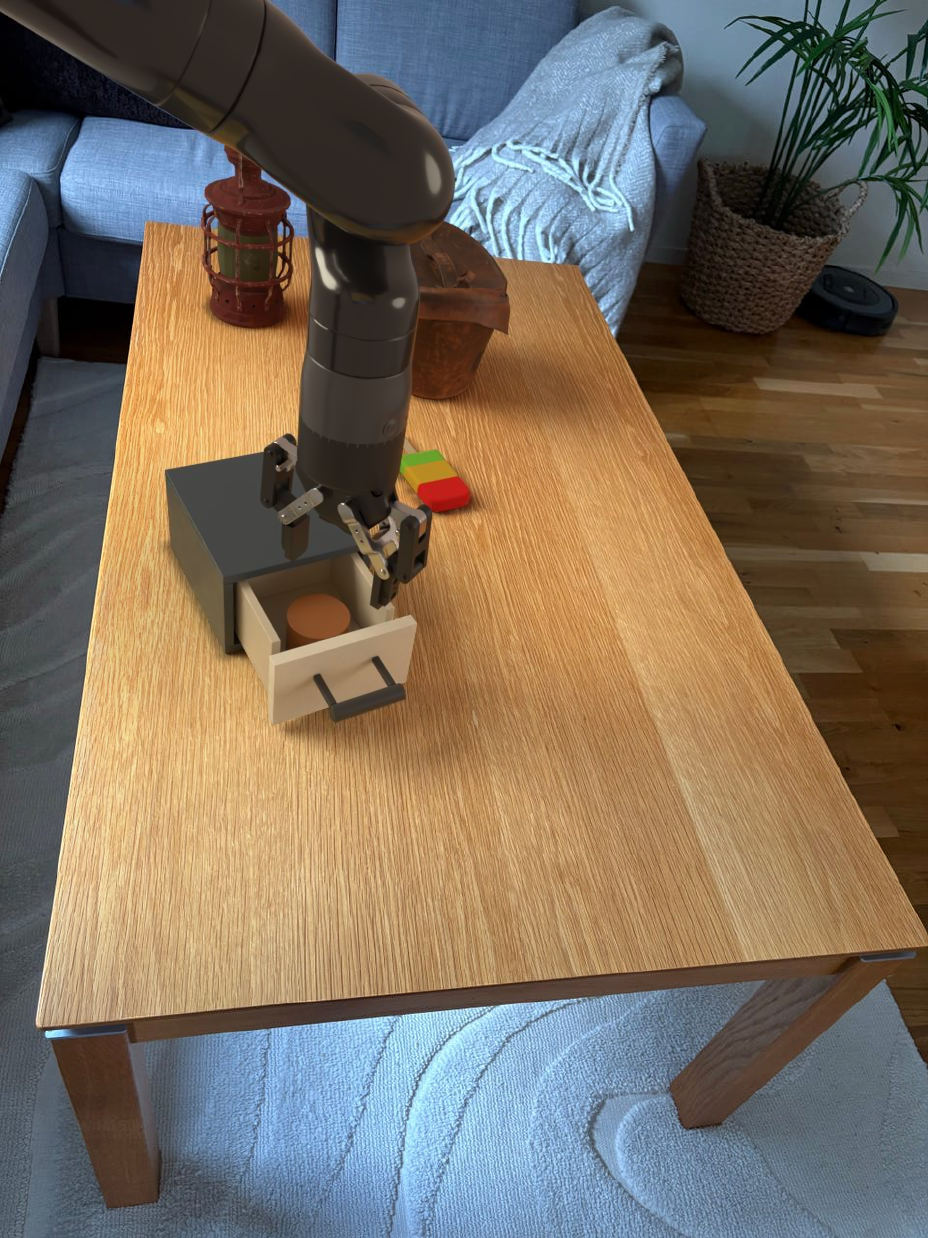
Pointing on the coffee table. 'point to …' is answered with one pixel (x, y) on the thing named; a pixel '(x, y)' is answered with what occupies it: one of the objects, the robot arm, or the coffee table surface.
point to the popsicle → (433, 479)
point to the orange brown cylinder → (315, 620)
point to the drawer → (324, 642)
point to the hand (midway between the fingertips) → (337, 578)
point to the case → (454, 310)
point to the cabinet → (235, 534)
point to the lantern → (247, 246)
